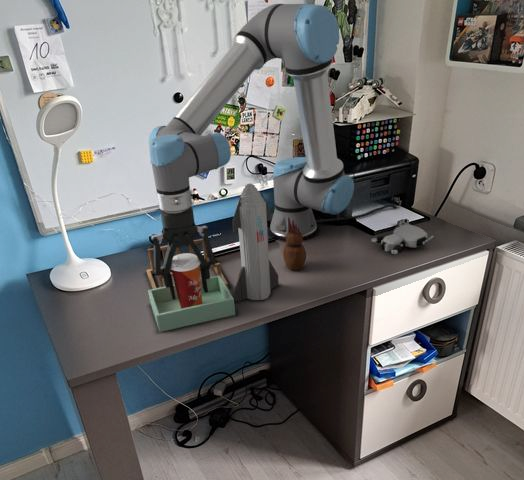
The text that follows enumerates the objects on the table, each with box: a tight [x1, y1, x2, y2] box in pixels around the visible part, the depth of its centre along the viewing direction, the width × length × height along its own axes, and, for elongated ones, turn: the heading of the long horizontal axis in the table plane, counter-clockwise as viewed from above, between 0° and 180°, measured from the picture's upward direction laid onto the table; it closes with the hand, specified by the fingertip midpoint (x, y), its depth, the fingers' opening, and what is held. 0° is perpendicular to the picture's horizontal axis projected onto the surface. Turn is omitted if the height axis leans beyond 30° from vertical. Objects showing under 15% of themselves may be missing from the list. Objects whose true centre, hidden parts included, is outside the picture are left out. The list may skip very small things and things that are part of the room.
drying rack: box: [145, 238, 229, 289], centre depth 149 cm, size 20×18×8 cm
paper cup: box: [170, 252, 202, 309], centre depth 133 cm, size 8×8×14 cm
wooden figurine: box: [282, 217, 307, 271], centre depth 149 cm, size 7×6×15 cm
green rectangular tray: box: [147, 274, 236, 333], centre depth 136 cm, size 20×14×5 cm
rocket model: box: [231, 183, 279, 303], centre depth 134 cm, size 14×7×30 cm, turn 124°
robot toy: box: [371, 222, 434, 255], centre depth 159 cm, size 12×4×15 cm
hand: (189, 293), depth 135 cm, fingers closed on paper cup, 8 cm apart
